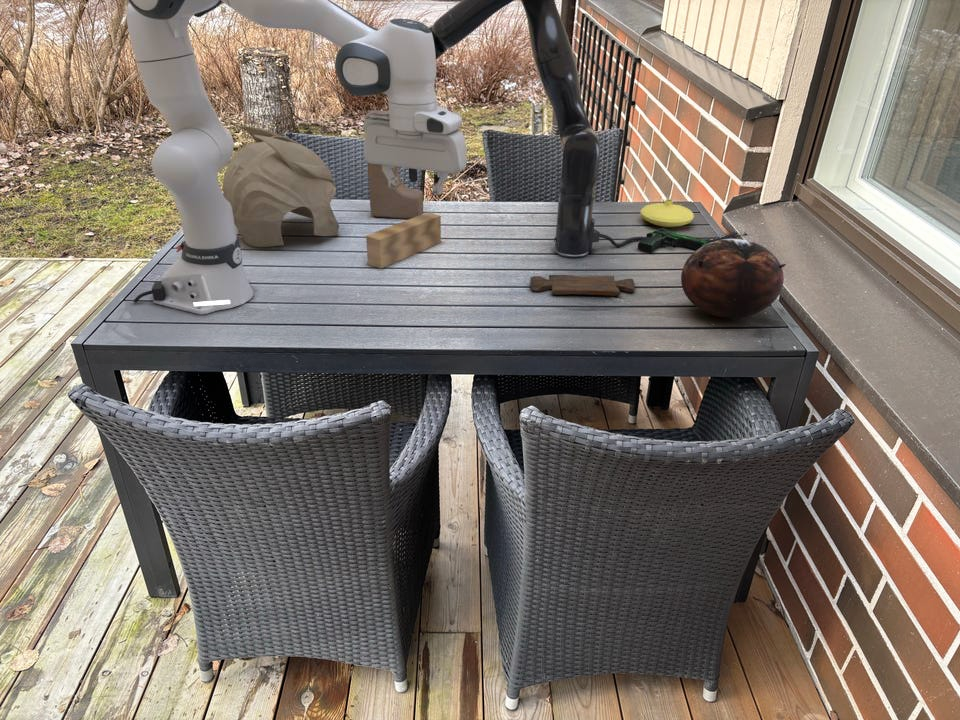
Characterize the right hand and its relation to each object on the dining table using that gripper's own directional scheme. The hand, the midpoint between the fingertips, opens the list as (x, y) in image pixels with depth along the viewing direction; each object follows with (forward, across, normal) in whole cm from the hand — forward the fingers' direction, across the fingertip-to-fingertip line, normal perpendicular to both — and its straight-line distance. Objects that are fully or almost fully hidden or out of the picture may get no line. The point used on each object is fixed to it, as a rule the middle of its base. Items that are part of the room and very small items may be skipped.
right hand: (425, 184), depth 191 cm
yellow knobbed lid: (+18, +44, +59) cm, 75 cm away
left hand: (-15, +34, -40) cm, 54 cm away
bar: (+17, 0, -9) cm, 19 cm away
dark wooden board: (+18, +49, +2) cm, 52 cm away
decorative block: (+17, -23, +12) cm, 31 cm away
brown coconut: (+18, +81, +12) cm, 84 cm away
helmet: (+16, -35, -22) cm, 44 cm away
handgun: (+18, +54, +41) cm, 70 cm away
